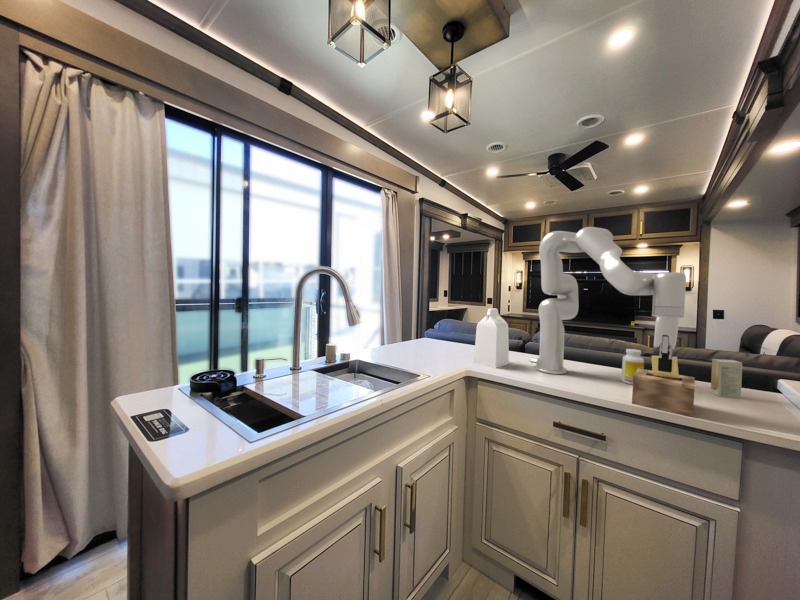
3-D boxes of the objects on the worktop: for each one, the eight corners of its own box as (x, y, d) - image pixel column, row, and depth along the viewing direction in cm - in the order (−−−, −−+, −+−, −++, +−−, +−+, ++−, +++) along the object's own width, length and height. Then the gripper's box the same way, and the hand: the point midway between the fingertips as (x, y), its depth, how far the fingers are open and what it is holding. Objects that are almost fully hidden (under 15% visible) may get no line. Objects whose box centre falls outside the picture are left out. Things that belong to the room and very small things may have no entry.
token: (651, 356, 97) (676, 358, 93) (652, 355, 99) (677, 356, 95) (652, 375, 97) (678, 377, 93) (653, 374, 99) (678, 376, 94)
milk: (487, 359, 153) (488, 307, 151) (508, 363, 144) (510, 309, 143) (473, 363, 145) (475, 308, 143) (495, 368, 136) (497, 310, 135)
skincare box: (732, 394, 106) (734, 359, 106) (741, 398, 102) (744, 362, 102) (709, 392, 109) (711, 358, 108) (717, 396, 104) (719, 361, 104)
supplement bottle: (646, 386, 114) (648, 352, 113) (626, 385, 115) (628, 351, 114) (636, 380, 120) (638, 348, 120) (617, 379, 122) (619, 347, 121)
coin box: (631, 403, 97) (633, 375, 96) (636, 393, 106) (638, 368, 105) (692, 417, 87) (694, 386, 87) (692, 405, 96) (694, 377, 95)
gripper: (654, 310, 103) (652, 364, 104) (649, 312, 92) (646, 373, 93) (684, 311, 98) (681, 368, 99) (683, 314, 87) (680, 378, 87)
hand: (665, 370), depth 96 cm, fingers closed on token, 2 cm apart
